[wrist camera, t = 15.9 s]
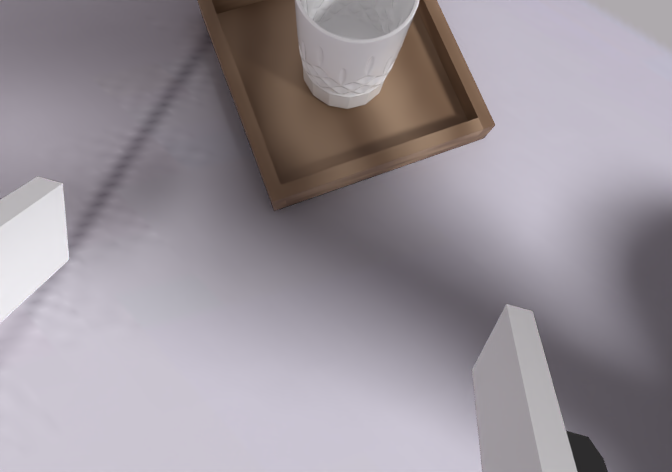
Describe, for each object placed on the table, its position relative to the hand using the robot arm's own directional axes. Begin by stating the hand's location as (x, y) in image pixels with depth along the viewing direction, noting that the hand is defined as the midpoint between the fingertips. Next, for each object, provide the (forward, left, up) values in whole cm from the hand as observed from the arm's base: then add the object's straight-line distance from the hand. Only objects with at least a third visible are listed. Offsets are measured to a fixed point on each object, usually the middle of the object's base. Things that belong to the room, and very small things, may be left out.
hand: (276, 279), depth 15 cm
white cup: (-11, -17, -22) cm, 30 cm away
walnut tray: (-11, -17, -23) cm, 31 cm away
